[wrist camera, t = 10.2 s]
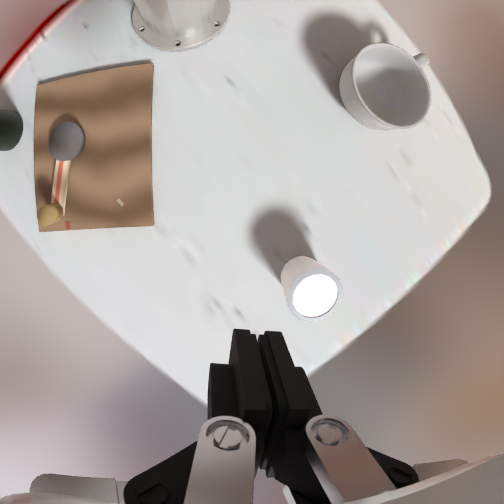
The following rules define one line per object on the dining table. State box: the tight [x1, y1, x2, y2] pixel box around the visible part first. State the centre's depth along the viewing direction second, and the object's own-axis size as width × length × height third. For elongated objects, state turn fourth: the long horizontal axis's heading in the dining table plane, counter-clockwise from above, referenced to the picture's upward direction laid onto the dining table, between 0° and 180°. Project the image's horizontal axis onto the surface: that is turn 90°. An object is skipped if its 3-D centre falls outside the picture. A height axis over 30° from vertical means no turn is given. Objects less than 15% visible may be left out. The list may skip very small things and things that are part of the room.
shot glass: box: [281, 256, 343, 322], centre depth 38 cm, size 7×7×7 cm
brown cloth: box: [34, 63, 154, 232], centre depth 33 cm, size 20×17×1 cm
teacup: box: [339, 43, 431, 130], centre depth 32 cm, size 14×11×8 cm
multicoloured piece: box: [37, 122, 85, 226], centre depth 31 cm, size 13×5×4 cm, turn 167°
